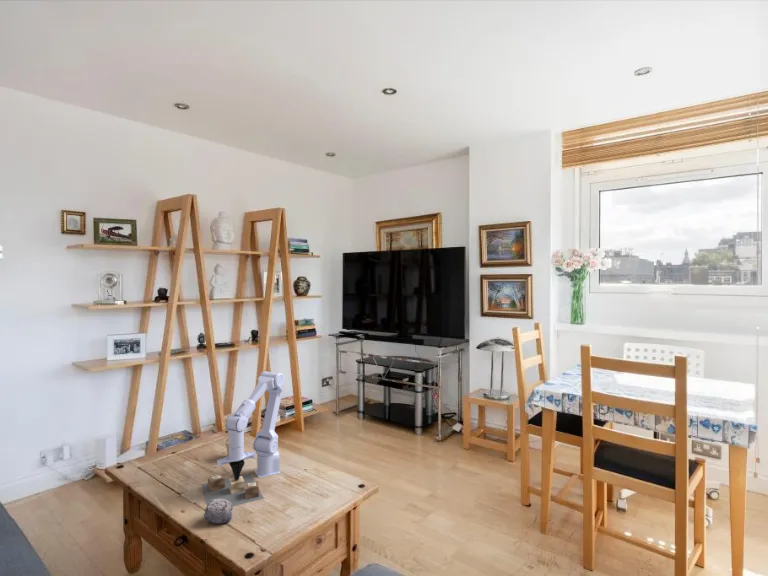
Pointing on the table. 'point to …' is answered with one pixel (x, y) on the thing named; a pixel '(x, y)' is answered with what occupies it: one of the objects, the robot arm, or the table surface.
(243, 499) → the slate mat
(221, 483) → the walnut block
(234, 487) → the plain block
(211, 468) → the table surface
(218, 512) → the pumice stone
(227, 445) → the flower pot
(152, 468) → the table surface
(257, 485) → the walnut block
